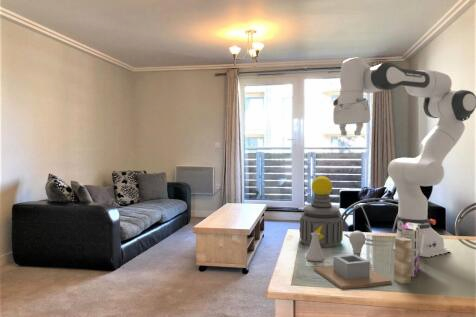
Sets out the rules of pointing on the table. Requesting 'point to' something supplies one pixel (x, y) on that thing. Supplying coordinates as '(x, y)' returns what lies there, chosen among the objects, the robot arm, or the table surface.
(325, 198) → the decorative lamp
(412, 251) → the candy bar box
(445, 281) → the table surface
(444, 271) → the table surface
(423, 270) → the table surface
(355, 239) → the lightbulb
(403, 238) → the wooden block
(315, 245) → the flask
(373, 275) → the square peg socket base
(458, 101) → the robot arm
